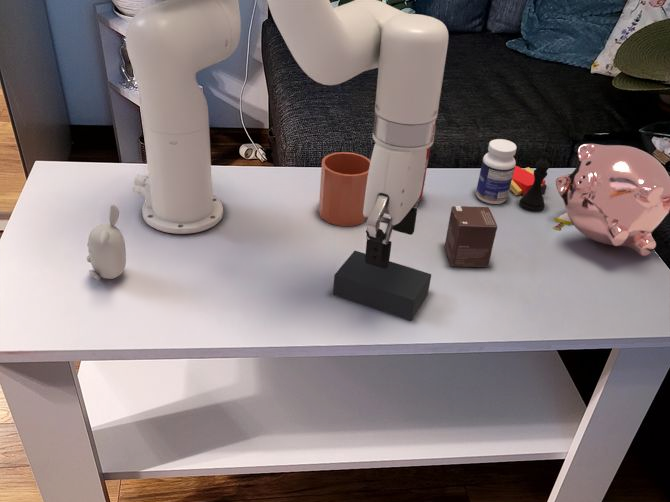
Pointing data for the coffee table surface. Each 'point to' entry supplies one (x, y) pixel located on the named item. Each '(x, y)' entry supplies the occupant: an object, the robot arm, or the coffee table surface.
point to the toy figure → (524, 181)
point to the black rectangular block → (382, 286)
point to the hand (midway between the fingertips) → (390, 247)
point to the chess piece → (536, 187)
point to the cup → (343, 188)
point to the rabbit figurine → (107, 248)
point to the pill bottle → (496, 172)
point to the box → (470, 236)
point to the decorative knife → (562, 221)
